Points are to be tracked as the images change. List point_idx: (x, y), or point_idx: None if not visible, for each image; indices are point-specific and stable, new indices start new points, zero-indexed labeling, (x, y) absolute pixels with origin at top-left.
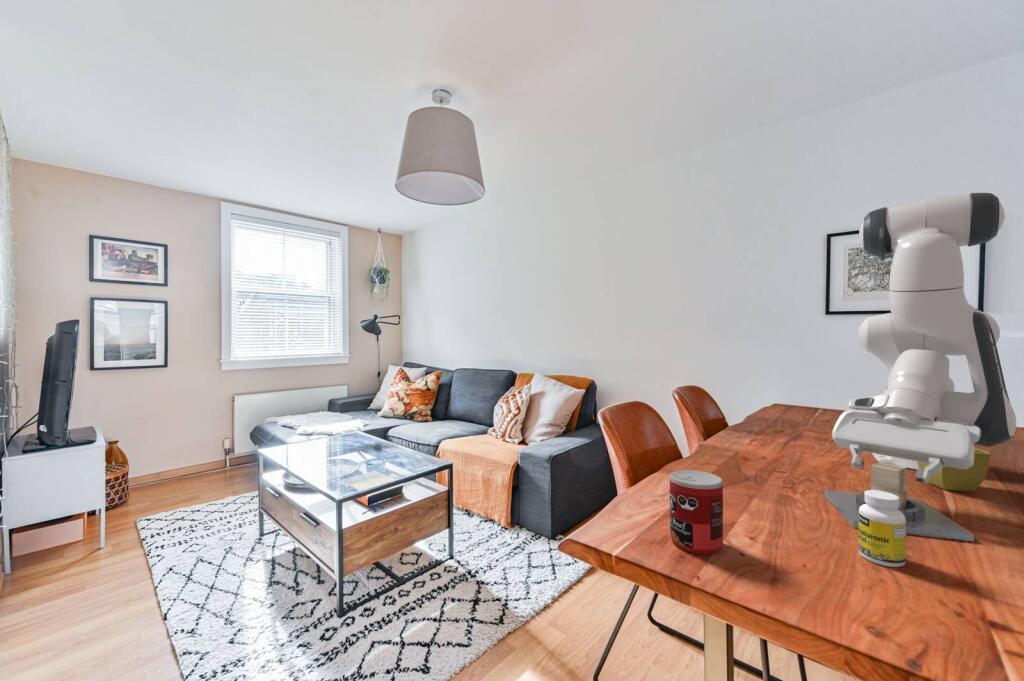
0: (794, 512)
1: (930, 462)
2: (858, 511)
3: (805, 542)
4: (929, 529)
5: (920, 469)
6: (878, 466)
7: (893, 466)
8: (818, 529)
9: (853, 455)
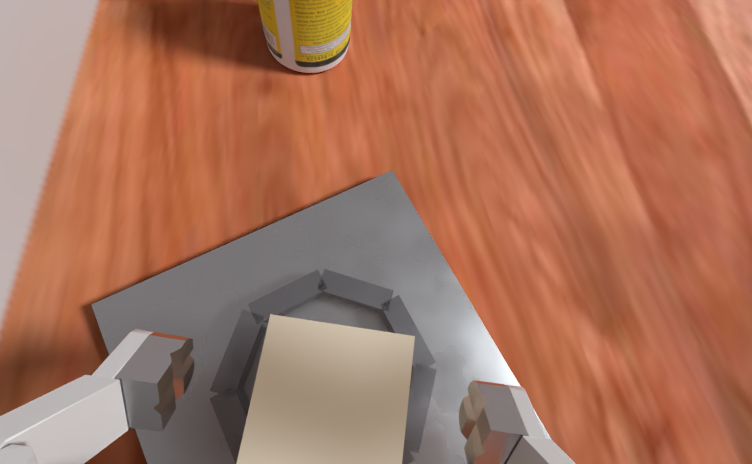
0: (529, 188)
1: (28, 452)
2: (400, 268)
3: (441, 28)
4: (211, 254)
5: (140, 375)
6: (378, 347)
7: (305, 431)
8: (446, 112)
9: (548, 443)
